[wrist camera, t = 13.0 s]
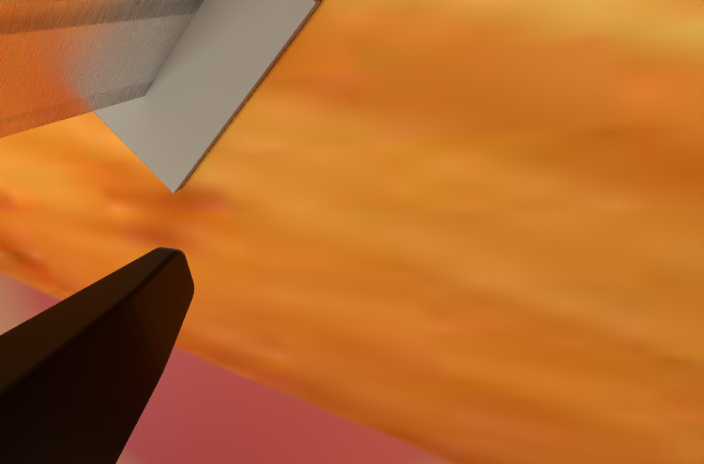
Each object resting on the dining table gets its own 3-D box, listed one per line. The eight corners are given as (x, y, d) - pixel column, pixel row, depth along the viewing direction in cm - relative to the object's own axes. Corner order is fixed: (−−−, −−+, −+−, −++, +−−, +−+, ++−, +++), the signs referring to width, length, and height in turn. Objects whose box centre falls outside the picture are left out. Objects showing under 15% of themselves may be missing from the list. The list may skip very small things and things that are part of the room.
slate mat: (320, 2, 19) (315, 3, 19) (178, 190, 25) (173, 193, 25) (97, -237, 18) (87, -242, 18) (6, 14, 24) (-3, 14, 24)
